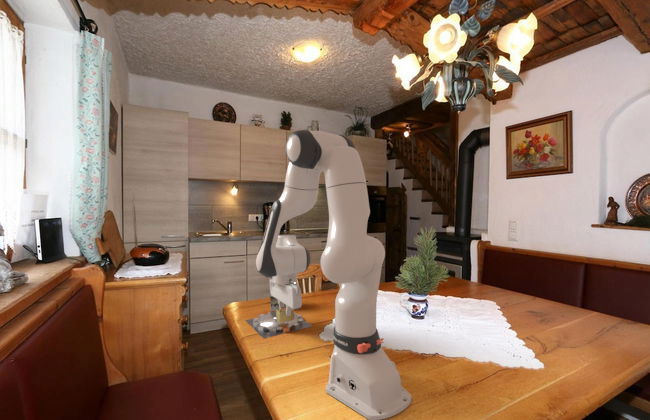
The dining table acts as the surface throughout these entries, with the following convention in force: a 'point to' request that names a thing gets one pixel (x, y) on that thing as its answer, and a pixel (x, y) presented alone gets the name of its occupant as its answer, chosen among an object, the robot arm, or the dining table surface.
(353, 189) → the robot arm
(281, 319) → the brass link
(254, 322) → the sprocket
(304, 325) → the base plate
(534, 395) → the dining table surface
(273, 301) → the coffee box
